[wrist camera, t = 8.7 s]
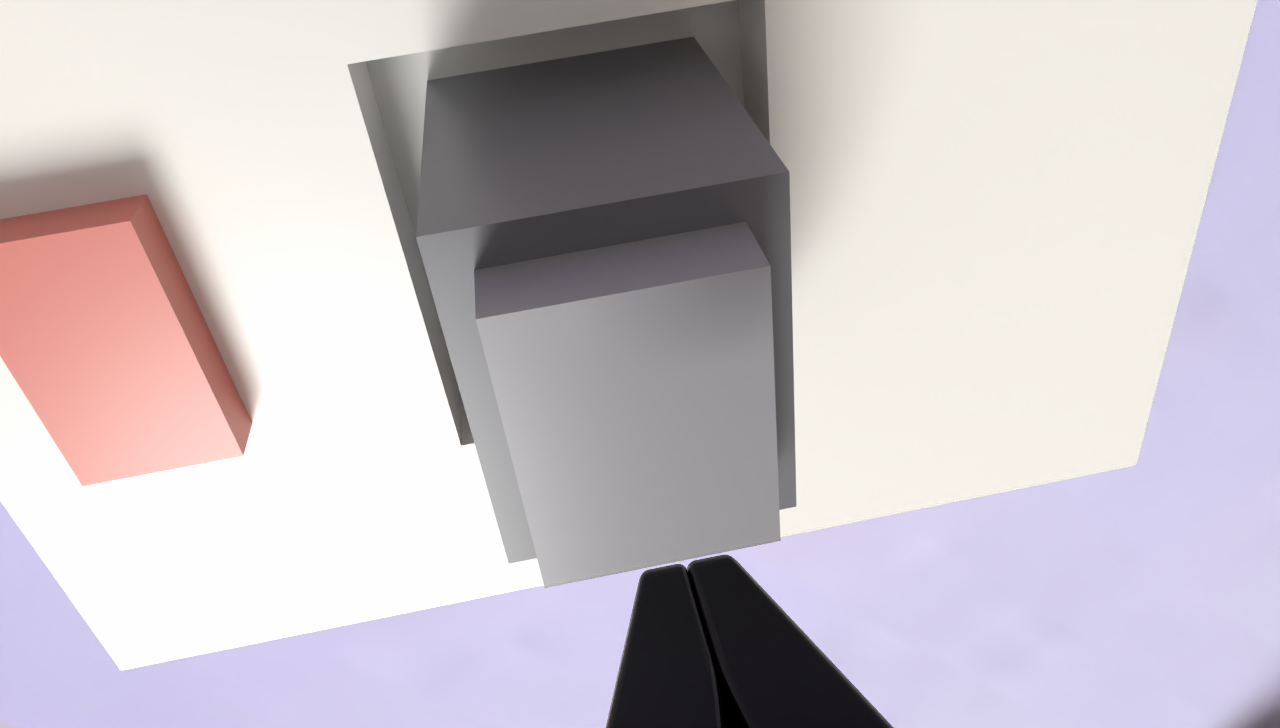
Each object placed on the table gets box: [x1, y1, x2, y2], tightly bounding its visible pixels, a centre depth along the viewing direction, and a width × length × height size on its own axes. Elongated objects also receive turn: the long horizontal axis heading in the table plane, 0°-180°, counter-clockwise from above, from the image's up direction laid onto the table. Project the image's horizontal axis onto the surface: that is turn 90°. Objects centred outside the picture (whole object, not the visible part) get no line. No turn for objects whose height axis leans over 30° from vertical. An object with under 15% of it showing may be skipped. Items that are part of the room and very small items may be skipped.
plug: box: [416, 37, 796, 588], centre depth 13 cm, size 4×5×6 cm
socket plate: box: [0, 0, 1258, 671], centre depth 15 cm, size 20×14×4 cm
